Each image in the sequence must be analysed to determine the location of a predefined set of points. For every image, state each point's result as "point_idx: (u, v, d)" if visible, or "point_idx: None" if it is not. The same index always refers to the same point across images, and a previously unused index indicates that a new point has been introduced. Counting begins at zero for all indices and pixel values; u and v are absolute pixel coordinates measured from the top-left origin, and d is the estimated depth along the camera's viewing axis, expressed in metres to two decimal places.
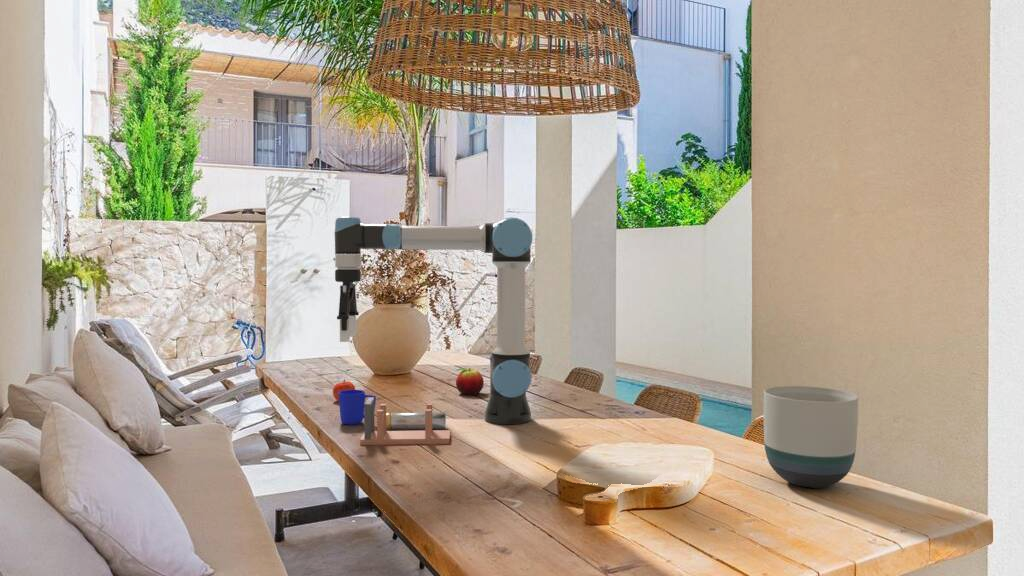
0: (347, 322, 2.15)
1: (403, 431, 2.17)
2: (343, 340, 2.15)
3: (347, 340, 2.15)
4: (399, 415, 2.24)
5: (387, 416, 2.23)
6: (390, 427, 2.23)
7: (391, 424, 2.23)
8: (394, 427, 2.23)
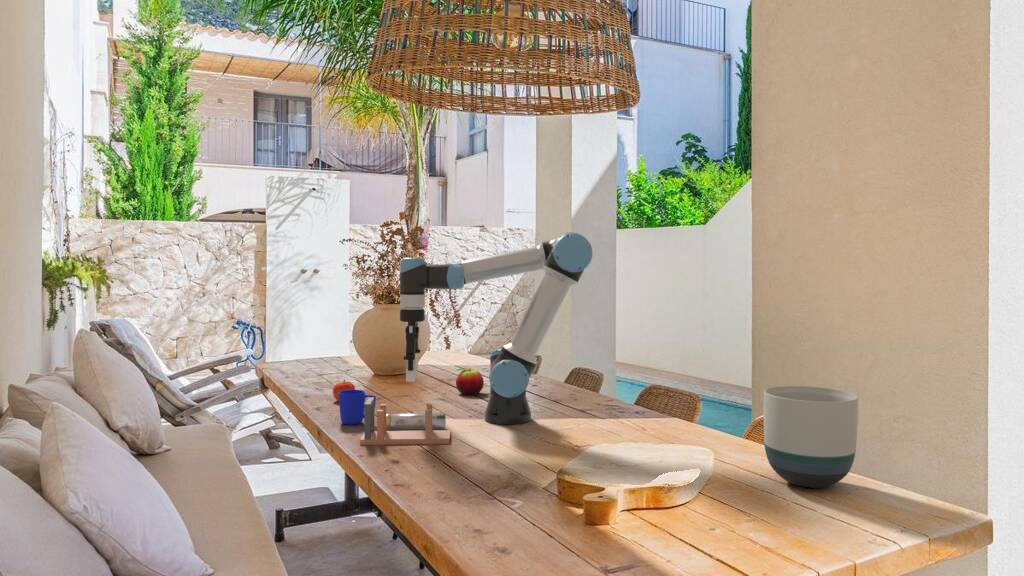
0: (413, 362, 2.18)
1: (403, 431, 2.17)
2: (409, 380, 2.18)
3: (413, 380, 2.18)
4: (398, 419, 2.22)
5: (386, 421, 2.21)
6: (390, 430, 2.23)
7: (391, 428, 2.22)
8: (394, 430, 2.23)
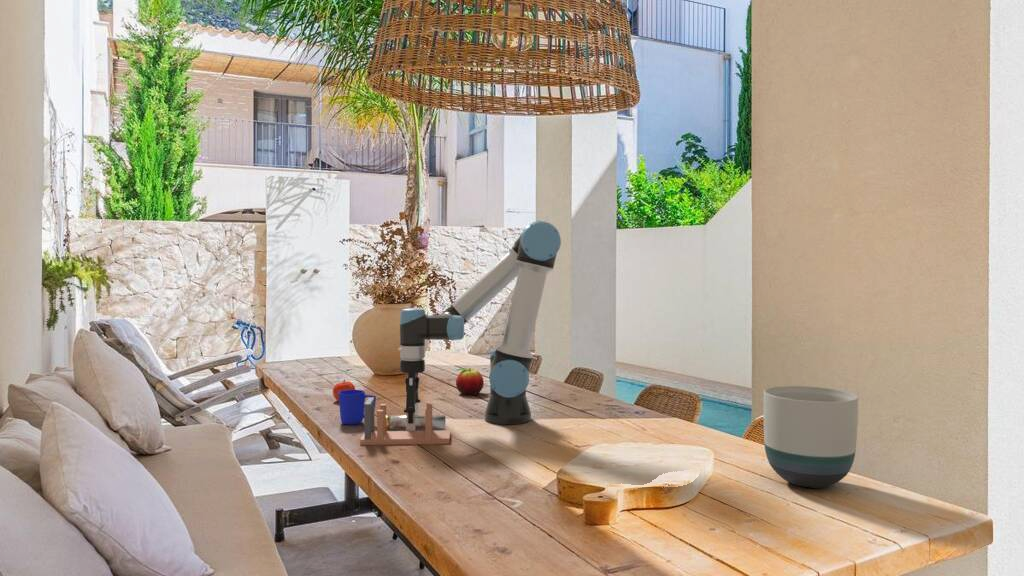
0: (413, 415, 2.19)
1: (403, 431, 2.17)
2: None
3: None
4: (398, 429, 2.19)
5: (386, 430, 2.19)
6: None
7: None
8: None
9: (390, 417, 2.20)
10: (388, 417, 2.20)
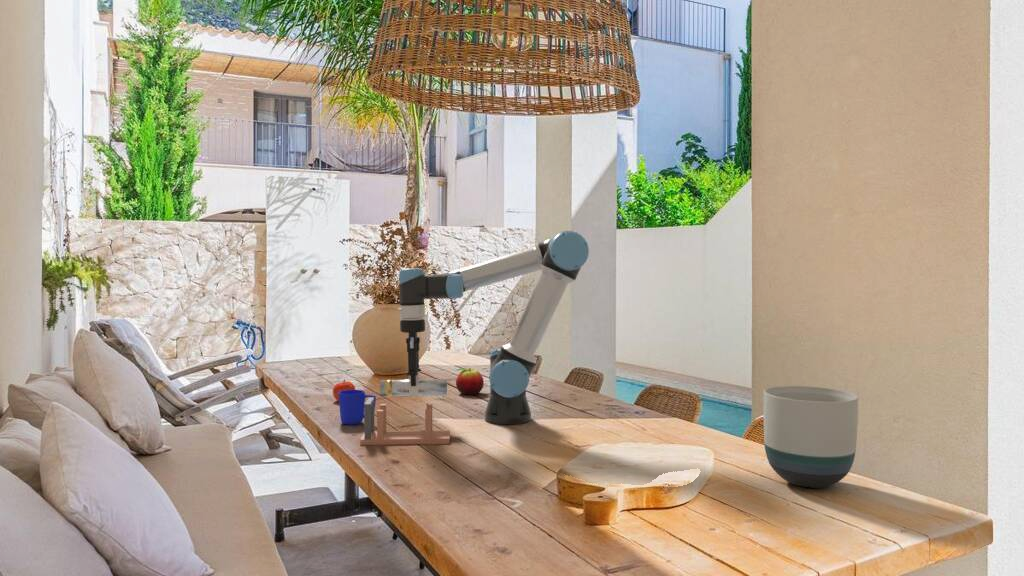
0: (416, 377, 2.22)
1: (403, 431, 2.17)
2: (412, 395, 2.22)
3: (417, 395, 2.22)
4: (400, 383, 2.23)
5: (388, 385, 2.22)
6: (391, 395, 2.23)
7: (392, 393, 2.23)
8: (395, 395, 2.23)
9: None
10: None
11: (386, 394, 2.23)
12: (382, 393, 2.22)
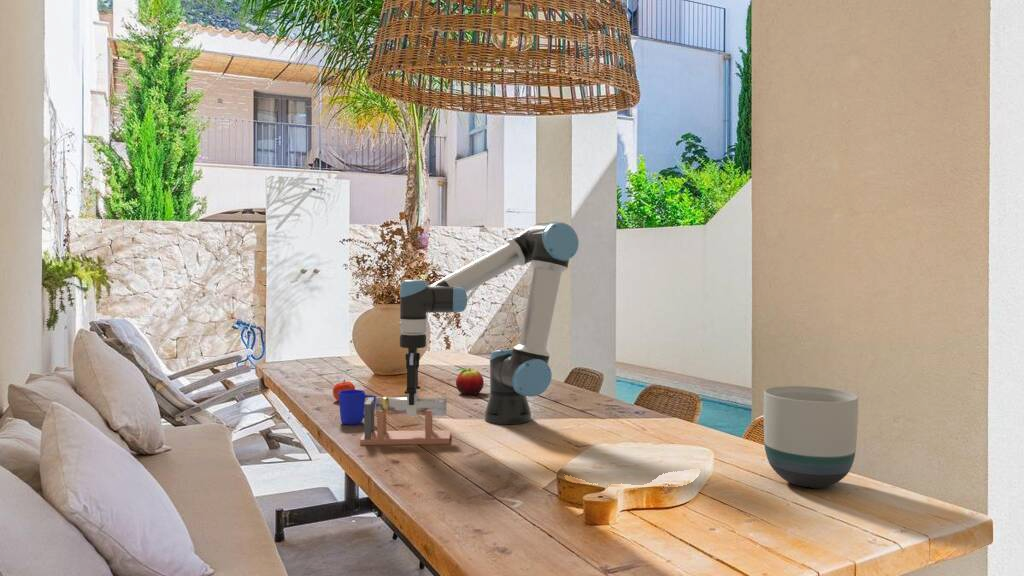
0: (414, 396, 2.09)
1: (403, 431, 2.17)
2: (410, 414, 2.09)
3: (414, 415, 2.09)
4: (397, 401, 2.10)
5: (384, 403, 2.09)
6: (387, 413, 2.10)
7: (388, 411, 2.10)
8: (392, 413, 2.10)
9: None
10: None
11: None
12: None
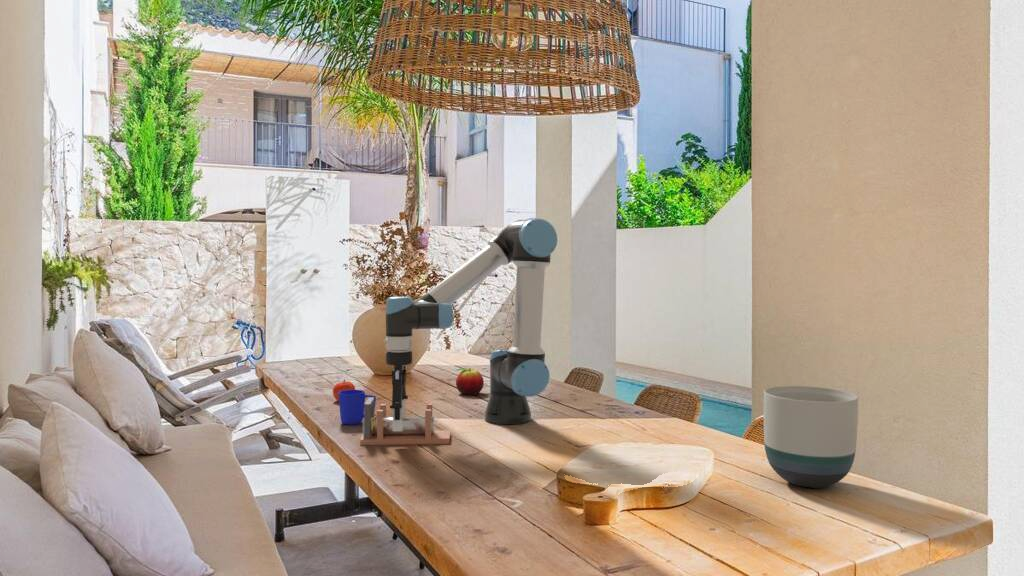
0: (400, 411, 2.06)
1: None
2: (396, 429, 2.06)
3: (400, 430, 2.06)
4: (384, 422, 2.10)
5: (371, 423, 2.10)
6: (375, 434, 2.10)
7: (375, 431, 2.10)
8: None
9: None
10: None
11: None
12: None
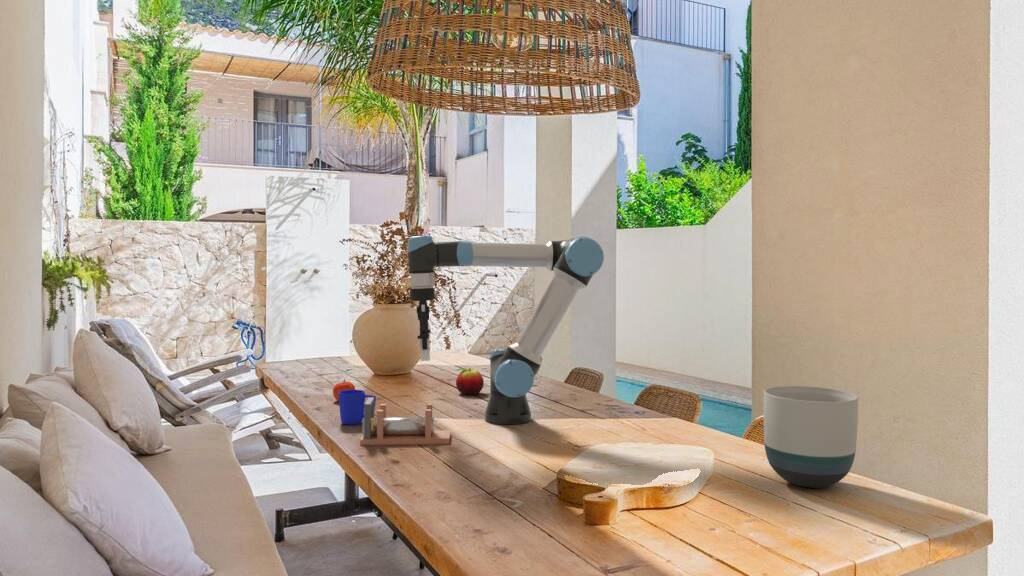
0: (427, 341, 2.15)
1: None
2: (424, 359, 2.15)
3: (428, 359, 2.16)
4: (383, 424, 2.09)
5: (371, 426, 2.09)
6: (375, 435, 2.10)
7: (375, 433, 2.10)
8: None
9: None
10: None
11: None
12: None
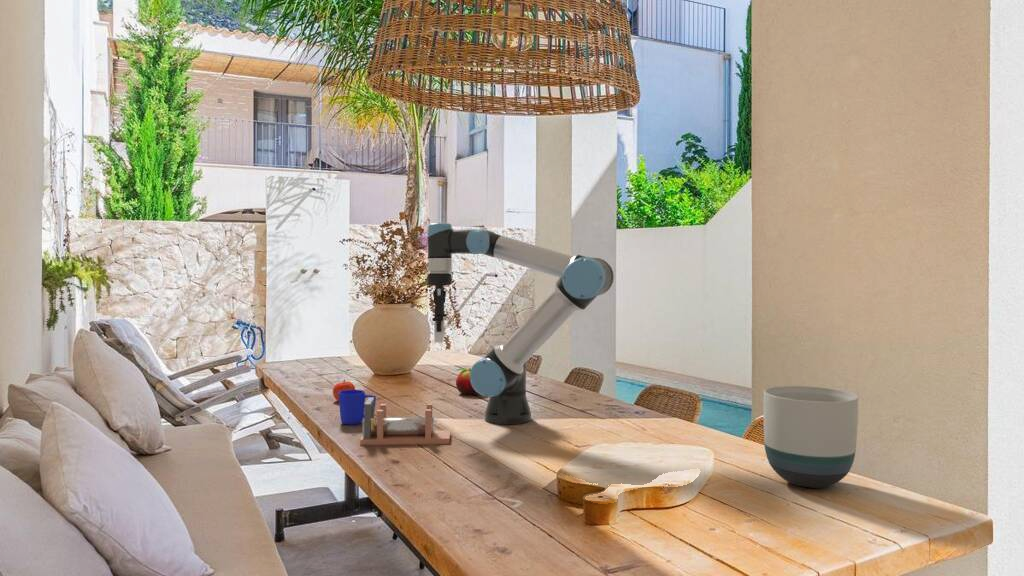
0: (441, 324, 2.25)
1: None
2: (437, 341, 2.25)
3: (442, 341, 2.25)
4: (383, 425, 2.09)
5: (371, 427, 2.09)
6: (375, 435, 2.10)
7: (375, 434, 2.09)
8: None
9: None
10: None
11: None
12: None
